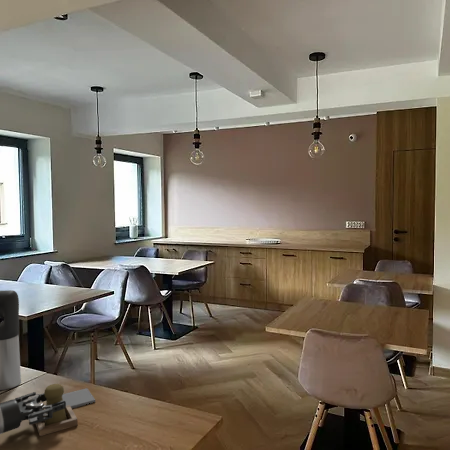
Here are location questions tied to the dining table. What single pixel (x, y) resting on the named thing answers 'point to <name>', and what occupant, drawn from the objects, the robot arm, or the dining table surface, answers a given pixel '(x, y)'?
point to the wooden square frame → (60, 425)
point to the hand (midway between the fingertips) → (59, 398)
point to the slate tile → (78, 398)
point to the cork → (54, 396)
